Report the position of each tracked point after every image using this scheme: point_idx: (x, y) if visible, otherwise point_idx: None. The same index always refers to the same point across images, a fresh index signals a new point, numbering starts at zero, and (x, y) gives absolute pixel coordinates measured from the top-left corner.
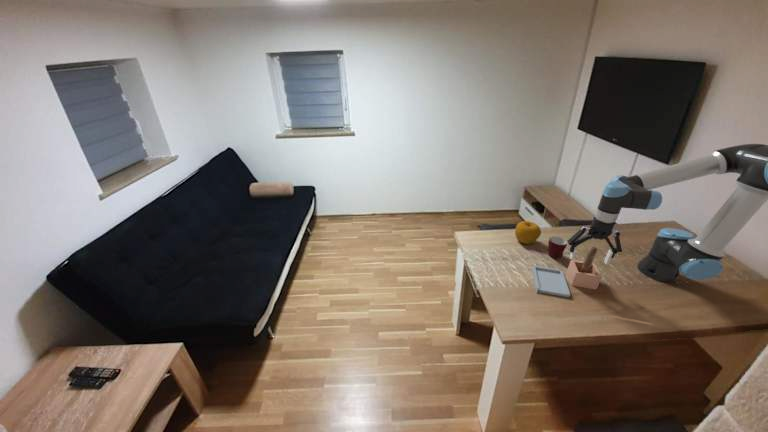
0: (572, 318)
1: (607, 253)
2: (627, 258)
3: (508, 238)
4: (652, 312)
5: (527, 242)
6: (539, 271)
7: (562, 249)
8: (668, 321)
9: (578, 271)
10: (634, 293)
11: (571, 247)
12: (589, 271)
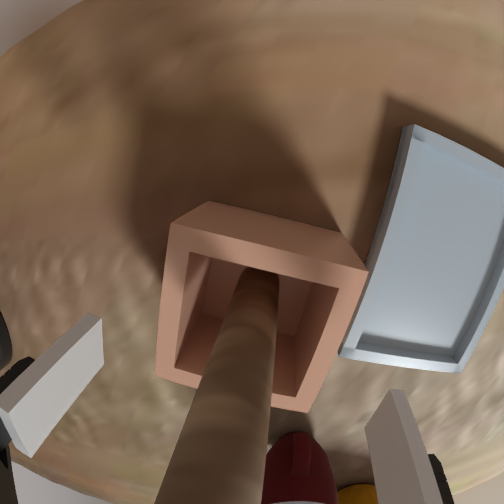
0: (432, 11)
1: (54, 420)
2: None
3: None
4: (45, 85)
5: (368, 490)
6: (445, 340)
7: (287, 476)
8: (30, 53)
9: None
10: (46, 200)
11: (446, 501)
12: (194, 334)
